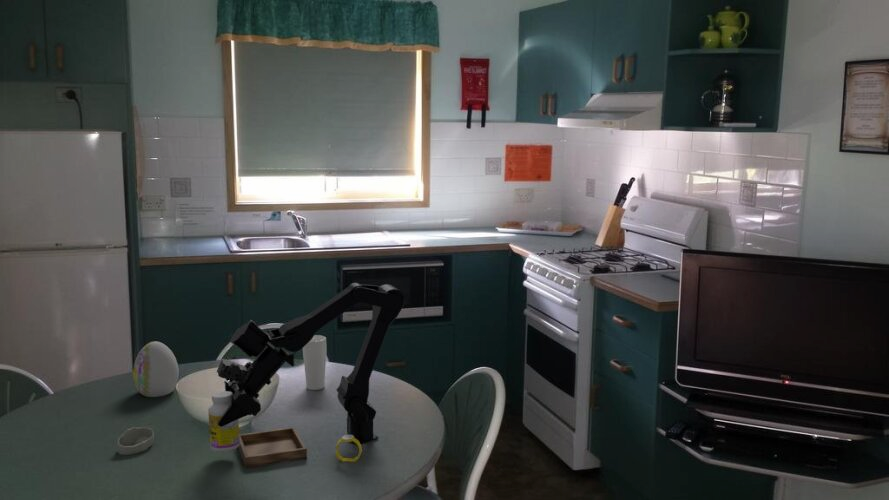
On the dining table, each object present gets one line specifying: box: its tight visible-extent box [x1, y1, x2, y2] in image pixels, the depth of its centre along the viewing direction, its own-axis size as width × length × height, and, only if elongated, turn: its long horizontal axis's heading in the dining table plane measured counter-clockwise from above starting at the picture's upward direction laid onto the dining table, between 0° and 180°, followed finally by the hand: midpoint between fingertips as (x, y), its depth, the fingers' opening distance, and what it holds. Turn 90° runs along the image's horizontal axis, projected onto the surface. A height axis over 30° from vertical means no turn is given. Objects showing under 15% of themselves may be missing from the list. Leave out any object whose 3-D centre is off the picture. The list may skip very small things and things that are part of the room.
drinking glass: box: [302, 334, 327, 391], centre depth 239 cm, size 7×7×15 cm
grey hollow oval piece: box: [117, 426, 155, 456], centre depth 197 cm, size 9×6×5 cm
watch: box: [334, 434, 363, 463], centre depth 191 cm, size 6×3×6 cm, turn 88°
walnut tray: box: [237, 426, 308, 469], centre depth 196 cm, size 14×14×2 cm
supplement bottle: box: [207, 390, 240, 453], centre depth 191 cm, size 7×7×13 cm
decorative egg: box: [132, 341, 180, 398], centre depth 235 cm, size 12×12×15 cm
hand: (217, 420), depth 190 cm, fingers closed on supplement bottle, 7 cm apart
